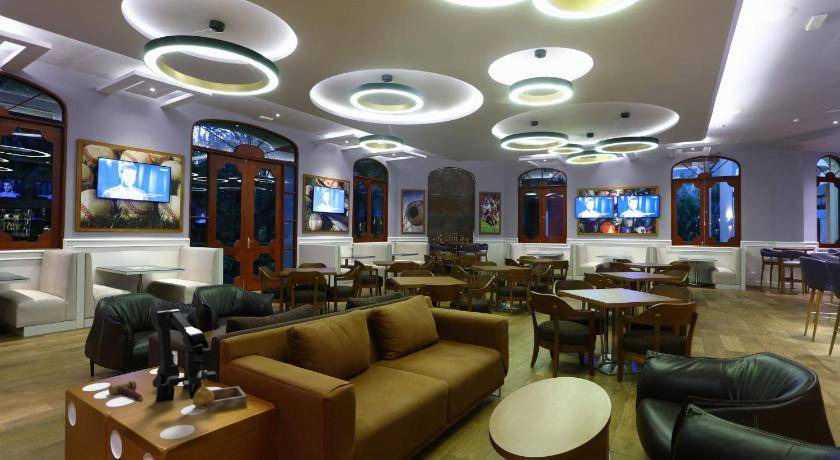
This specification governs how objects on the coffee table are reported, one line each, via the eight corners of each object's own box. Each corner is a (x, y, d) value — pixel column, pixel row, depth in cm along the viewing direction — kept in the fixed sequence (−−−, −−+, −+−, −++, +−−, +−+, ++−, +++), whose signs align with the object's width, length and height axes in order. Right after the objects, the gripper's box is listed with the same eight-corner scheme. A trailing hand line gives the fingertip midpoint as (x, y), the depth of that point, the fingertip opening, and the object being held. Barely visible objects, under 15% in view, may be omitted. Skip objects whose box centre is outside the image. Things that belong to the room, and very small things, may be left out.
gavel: (154, 391, 202) (130, 397, 194) (153, 401, 203) (129, 408, 194) (132, 379, 214) (108, 384, 206) (131, 388, 214) (108, 394, 206)
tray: (207, 412, 188) (207, 402, 188) (201, 400, 201) (201, 391, 201) (246, 405, 197) (246, 396, 198) (238, 394, 210) (238, 386, 210)
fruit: (201, 395, 200) (198, 383, 196) (218, 398, 200) (216, 386, 196) (191, 411, 193) (188, 398, 189) (209, 413, 193) (206, 401, 189)
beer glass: (179, 380, 227) (180, 351, 227) (170, 385, 220) (171, 354, 220) (166, 380, 228) (168, 350, 228) (157, 384, 221) (158, 353, 221)
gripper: (170, 369, 180) (168, 408, 180) (220, 364, 191) (218, 401, 190) (168, 362, 190) (166, 400, 189) (215, 358, 200) (213, 393, 200)
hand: (191, 398), depth 192 cm, fingers closed
